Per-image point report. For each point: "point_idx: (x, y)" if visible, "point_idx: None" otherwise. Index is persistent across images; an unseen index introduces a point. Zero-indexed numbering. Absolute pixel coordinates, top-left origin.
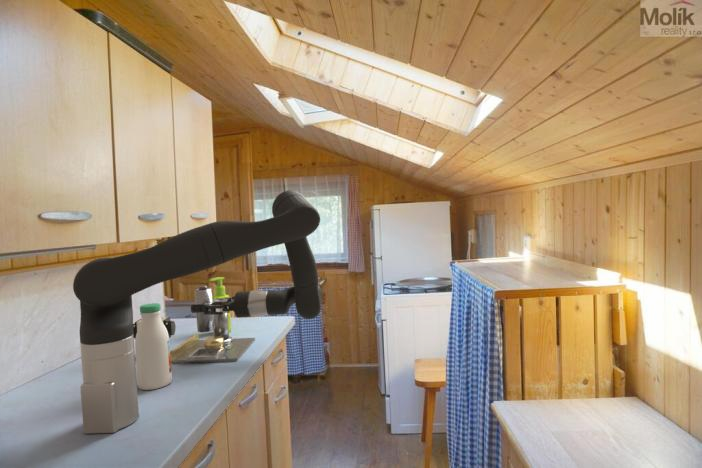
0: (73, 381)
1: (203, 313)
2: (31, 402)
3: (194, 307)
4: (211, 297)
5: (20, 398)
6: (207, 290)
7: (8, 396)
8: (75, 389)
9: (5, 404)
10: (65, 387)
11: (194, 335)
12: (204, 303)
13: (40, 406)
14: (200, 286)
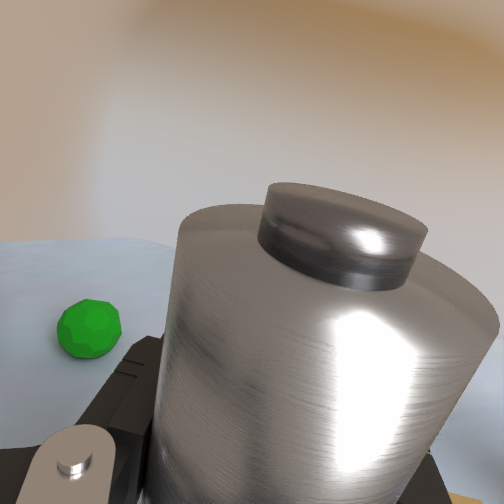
0: (140, 282)
1: (141, 500)
2: (53, 255)
3: (128, 356)
4: (264, 496)
5: (92, 246)
6: (208, 292)
7: (116, 239)
8: (77, 288)
9: (75, 239)
10: (107, 277)
11: (459, 502)
12: (151, 431)
13: (12, 263)
14: (360, 199)
